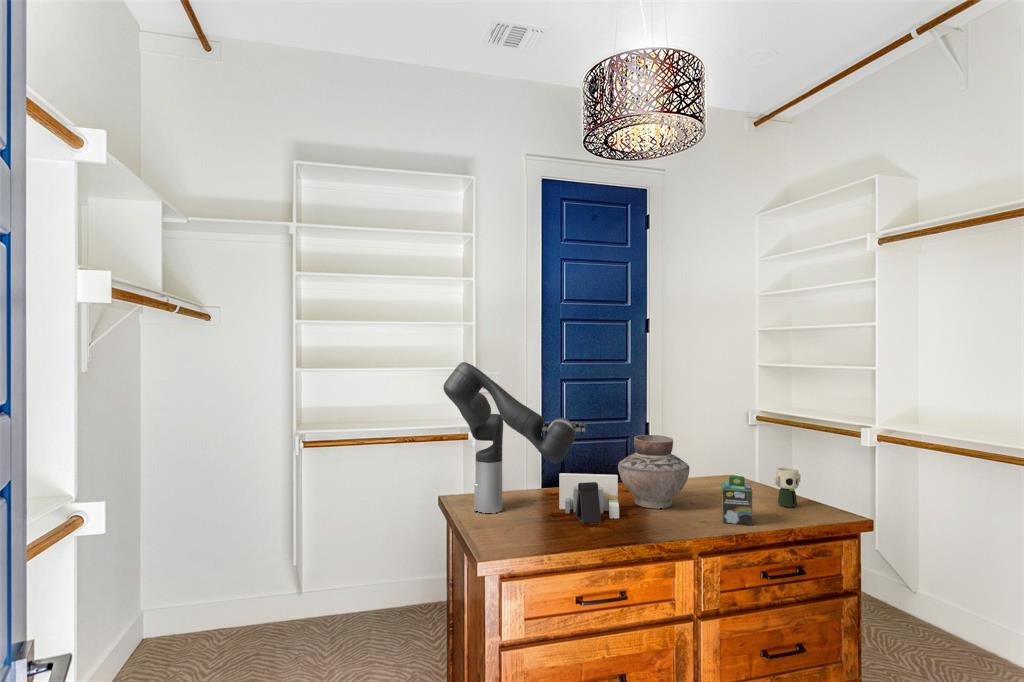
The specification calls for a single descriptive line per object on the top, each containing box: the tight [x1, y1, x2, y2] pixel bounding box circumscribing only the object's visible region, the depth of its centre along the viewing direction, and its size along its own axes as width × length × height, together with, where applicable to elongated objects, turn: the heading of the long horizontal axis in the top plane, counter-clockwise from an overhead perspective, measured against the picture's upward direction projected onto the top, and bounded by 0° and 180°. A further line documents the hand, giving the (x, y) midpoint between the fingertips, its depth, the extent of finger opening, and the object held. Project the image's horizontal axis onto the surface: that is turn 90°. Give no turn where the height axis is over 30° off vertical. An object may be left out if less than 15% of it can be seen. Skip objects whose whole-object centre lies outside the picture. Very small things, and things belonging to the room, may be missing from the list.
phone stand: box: [575, 482, 602, 525], centre depth 194 cm, size 9×6×12 cm, turn 10°
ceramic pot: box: [617, 434, 690, 510], centre depth 212 cm, size 25×25×24 cm
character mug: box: [773, 466, 801, 508], centre depth 210 cm, size 11×7×13 cm, turn 107°
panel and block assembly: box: [558, 472, 620, 519], centre depth 201 cm, size 20×11×12 cm, turn 83°
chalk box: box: [721, 475, 754, 526], centre depth 193 cm, size 9×9×15 cm
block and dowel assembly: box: [573, 487, 619, 514], centre depth 202 cm, size 15×3×8 cm, turn 83°
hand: (562, 424), depth 187 cm, fingers open, 8 cm apart
